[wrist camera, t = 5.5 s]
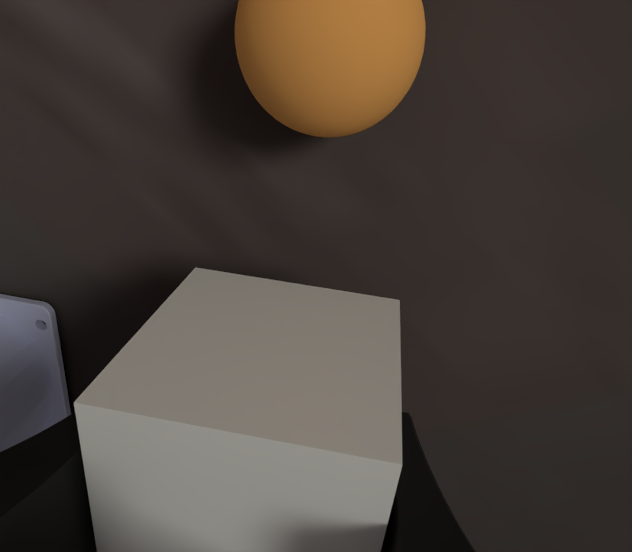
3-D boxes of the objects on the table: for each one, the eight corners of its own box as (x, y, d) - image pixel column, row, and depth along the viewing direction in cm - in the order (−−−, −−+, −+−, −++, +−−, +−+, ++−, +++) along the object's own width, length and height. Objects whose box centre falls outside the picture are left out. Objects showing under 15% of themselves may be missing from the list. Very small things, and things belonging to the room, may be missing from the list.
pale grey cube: (368, 454, 16) (354, 654, 11) (196, 422, 17) (104, 598, 11) (399, 300, 14) (402, 464, 8) (195, 267, 14) (73, 402, 9)
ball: (403, 132, 16) (407, 167, 12) (257, 112, 16) (205, 138, 12) (436, -46, 14) (456, -89, 9) (266, -64, 14) (207, -114, 10)
